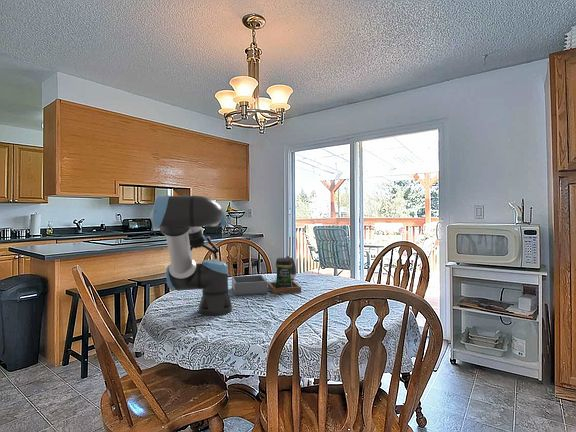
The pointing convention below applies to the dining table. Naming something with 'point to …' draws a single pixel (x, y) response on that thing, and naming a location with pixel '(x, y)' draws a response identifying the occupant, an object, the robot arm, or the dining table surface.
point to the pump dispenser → (293, 269)
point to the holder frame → (294, 289)
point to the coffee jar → (283, 272)
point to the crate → (249, 285)
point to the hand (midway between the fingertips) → (203, 267)
